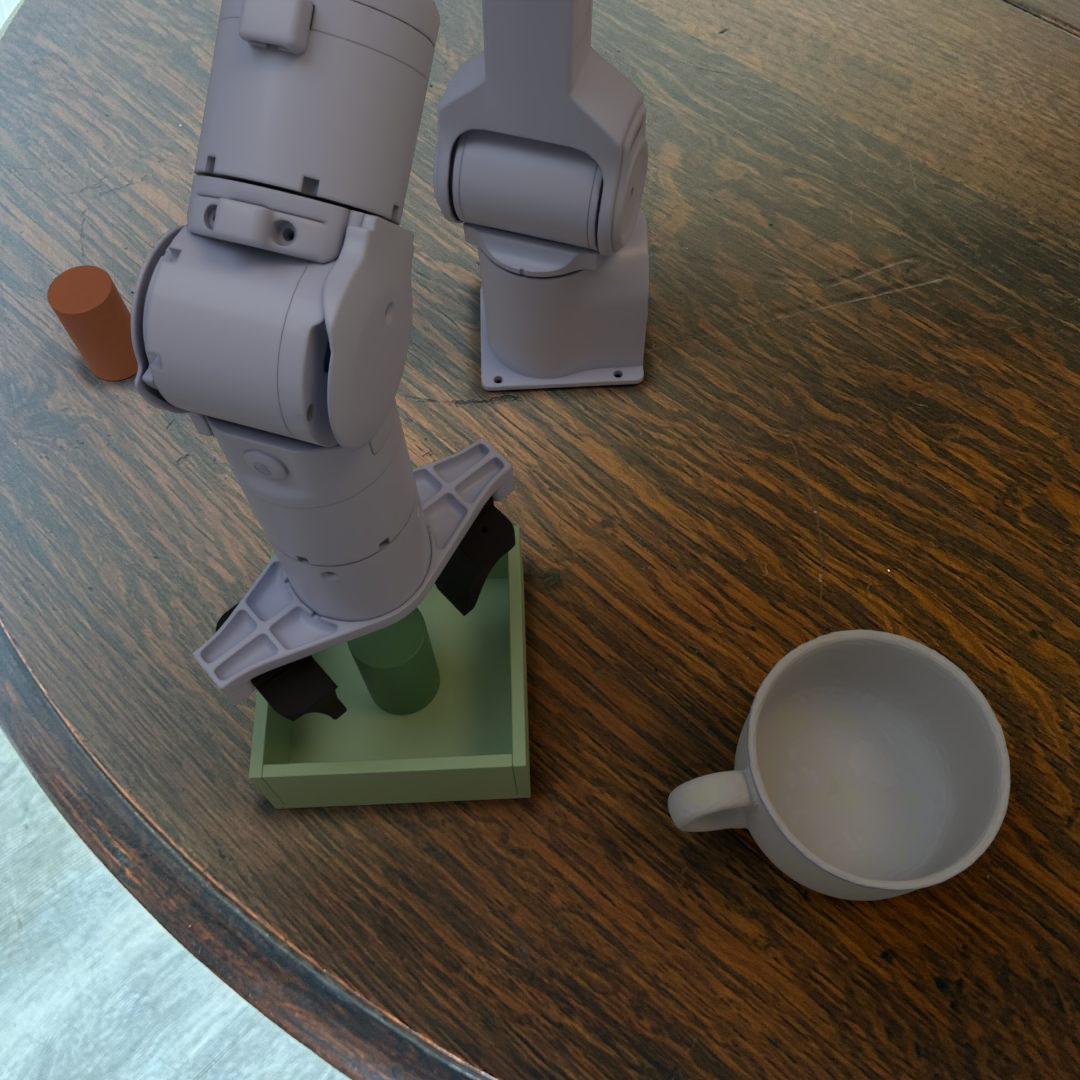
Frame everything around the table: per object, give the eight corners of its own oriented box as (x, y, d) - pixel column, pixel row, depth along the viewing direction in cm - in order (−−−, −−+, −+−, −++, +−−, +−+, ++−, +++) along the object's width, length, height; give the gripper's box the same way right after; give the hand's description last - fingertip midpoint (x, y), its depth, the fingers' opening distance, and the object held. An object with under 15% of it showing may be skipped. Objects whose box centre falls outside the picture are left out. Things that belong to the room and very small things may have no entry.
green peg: (409, 634, 55) (392, 581, 50) (454, 683, 54) (441, 633, 49) (353, 679, 54) (330, 629, 49) (398, 729, 53) (378, 684, 48)
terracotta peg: (152, 332, 66) (116, 263, 61) (144, 379, 65) (106, 312, 59) (94, 335, 66) (53, 266, 61) (84, 382, 65) (41, 315, 59)
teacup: (928, 690, 54) (980, 622, 47) (979, 918, 48) (1047, 880, 41) (647, 702, 54) (657, 636, 47) (667, 931, 48) (682, 895, 41)
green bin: (523, 571, 57) (519, 524, 53) (530, 798, 51) (526, 765, 47) (294, 582, 58) (271, 535, 53) (275, 809, 52) (247, 778, 47)
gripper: (423, 326, 43) (457, 504, 54) (105, 546, 38) (217, 688, 50) (543, 433, 40) (551, 596, 52) (216, 683, 35) (306, 799, 47)
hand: (393, 648), depth 51 cm, fingers open, 7 cm apart
